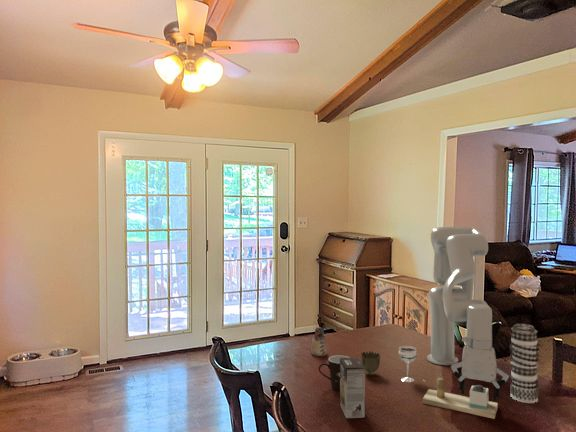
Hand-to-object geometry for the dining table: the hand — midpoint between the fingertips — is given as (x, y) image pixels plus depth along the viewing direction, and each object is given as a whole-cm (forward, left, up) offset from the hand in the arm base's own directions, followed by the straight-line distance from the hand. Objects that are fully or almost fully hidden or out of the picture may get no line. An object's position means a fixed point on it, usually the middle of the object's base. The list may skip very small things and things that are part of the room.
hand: (479, 395), depth 143 cm
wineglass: (-13, -27, -5) cm, 30 cm away
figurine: (-23, -70, -5) cm, 74 cm away
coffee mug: (+6, -48, -5) cm, 49 cm away
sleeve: (0, 0, -3) cm, 3 cm away
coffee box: (+22, -35, -5) cm, 42 cm away
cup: (-11, -41, -5) cm, 43 cm away
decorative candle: (-17, +12, -5) cm, 21 cm away
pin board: (0, -6, -4) cm, 8 cm away
